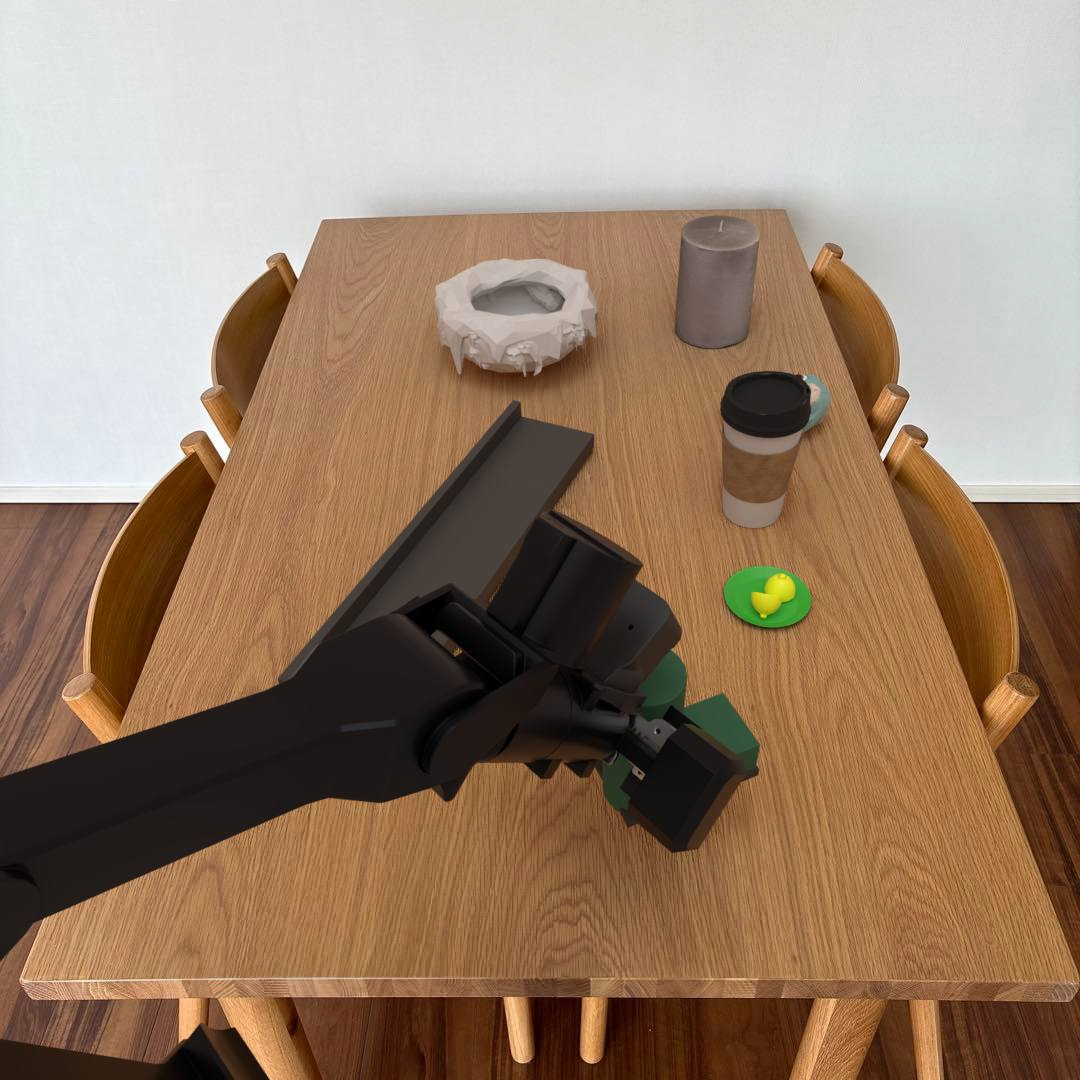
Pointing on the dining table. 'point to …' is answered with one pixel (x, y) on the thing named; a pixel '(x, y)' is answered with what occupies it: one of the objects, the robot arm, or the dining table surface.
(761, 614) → the green flat round tray
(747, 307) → the pillar candle
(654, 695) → the green cylinder on block
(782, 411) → the coffee cup
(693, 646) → the dining table surface
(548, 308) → the bowl
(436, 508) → the shoe shelf
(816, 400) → the stuffed animal
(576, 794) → the dining table surface
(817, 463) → the dining table surface
